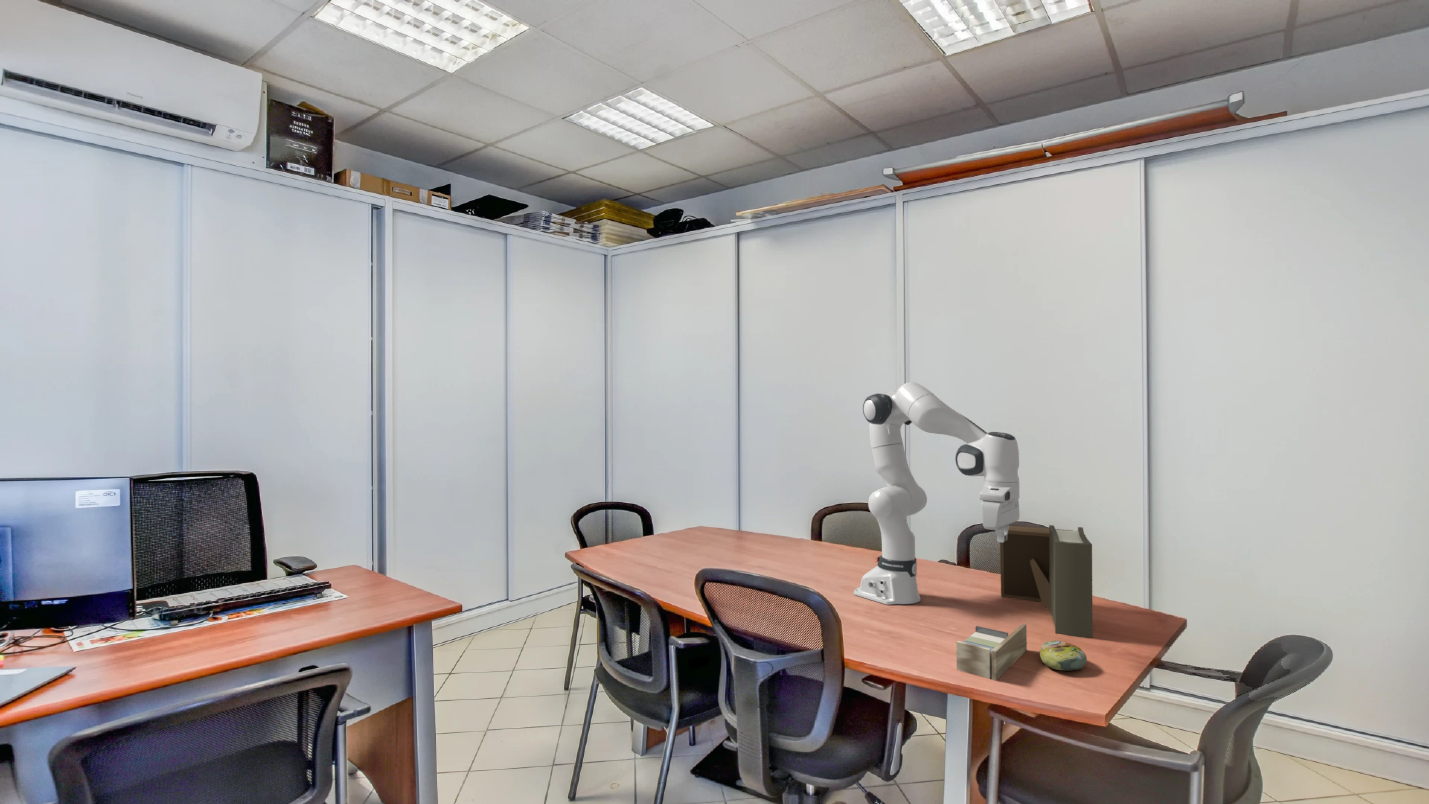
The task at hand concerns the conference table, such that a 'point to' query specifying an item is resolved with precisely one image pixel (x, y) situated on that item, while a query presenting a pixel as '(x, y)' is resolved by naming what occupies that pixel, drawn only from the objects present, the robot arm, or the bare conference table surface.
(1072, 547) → the book
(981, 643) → the book olive
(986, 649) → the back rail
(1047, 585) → the photo frame
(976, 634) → the book ivory
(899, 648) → the conference table surface
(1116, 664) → the conference table surface
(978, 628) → the bookend
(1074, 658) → the cell model
